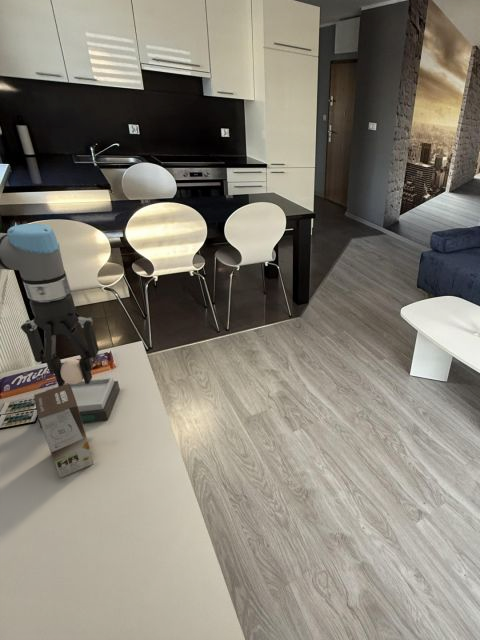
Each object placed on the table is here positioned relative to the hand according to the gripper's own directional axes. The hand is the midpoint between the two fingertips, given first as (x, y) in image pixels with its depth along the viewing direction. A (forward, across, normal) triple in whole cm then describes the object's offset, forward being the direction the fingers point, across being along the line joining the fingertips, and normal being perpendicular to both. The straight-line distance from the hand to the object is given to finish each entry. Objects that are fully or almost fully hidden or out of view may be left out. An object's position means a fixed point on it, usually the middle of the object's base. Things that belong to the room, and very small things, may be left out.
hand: (75, 381), depth 97 cm
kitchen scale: (+8, 0, 0) cm, 8 cm away
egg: (+1, 0, 0) cm, 1 cm away
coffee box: (+8, +3, -17) cm, 19 cm away
